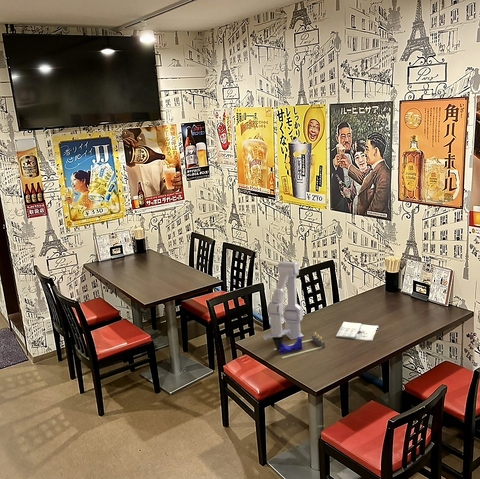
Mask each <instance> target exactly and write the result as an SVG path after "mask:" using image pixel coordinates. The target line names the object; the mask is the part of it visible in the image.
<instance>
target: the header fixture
mask: <svg viewBox="0 0 480 479" xmlns="http://www.w3.org/2000/svg"><path fill="white" fill-rule="evenodd" d="M322 338H323V337H322V336H320V335H319V334H317V332H314V333H313V334H312V335H311V339H306V340H302V344H305V343H310V342H314V343H315V344H317V345H318V347H314V348H311V349H306V350H304V351H300V352H296V353H292V354H288V355H285V356H281V359H282V360H285V359H288V358H291V357H295V356H298V355H302V354H305V353H310V352H313V351H316V350H320V349H324V348H326V346H325V344H326V343H325V341H324V340H323V339H322ZM293 344H294V343H292V344H288V345H287V346H291V345H293ZM273 351H275V352H276V351H278V350H277V349H276V348H274V349H273Z"/></svg>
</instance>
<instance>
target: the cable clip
mask: <svg viewBox="0 0 480 479" xmlns="http://www.w3.org/2000/svg"><path fill="white" fill-rule="evenodd" d="M302 341H303V340H302V337H298V338H296V341H295V342H294V343H292V344H293V345H291V344H290V345H291V346H287V345H286V344H284V343H283V342H282V343H281V347H280V350H278V351H279V353H280V354H289V353H292V352H294V351H300V350H303V343H302ZM288 352H289V353H288Z"/></svg>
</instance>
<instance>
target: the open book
mask: <svg viewBox="0 0 480 479" xmlns="http://www.w3.org/2000/svg"><path fill="white" fill-rule="evenodd" d="M377 328H378V329H379V328H380V327H379V325H369V324H362V323H360V322H359V323H358V322H348V321H343V323H342V324H341V326H340V327H339V330H338V331H337V333H336V335H335V337H336V338H343V339H352V340H361V341H368V342H369V341H371V342H373V341H374V337H375V334H376V332H377V331H378V329H377ZM376 330H377V331H376ZM359 332H360V333H359Z"/></svg>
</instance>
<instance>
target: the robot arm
mask: <svg viewBox="0 0 480 479" xmlns="http://www.w3.org/2000/svg"><path fill="white" fill-rule="evenodd" d="M277 272H278V281H277V287H276V289H274V291H273V294H272V298H271V300H270V303H268V305H267V314H268V317H269V318H270V319H269V320H270V331H271V332H268V333H266V334H264V335H263V340H264V341H267V340H269V339H272V341H273V342H274V345H275V349H277V350H276V351H279V350H280V347H281V343H283V341H284V336H286V337H288V338H289V339H290V340H295V339H296V340H297V339H298V337H301V338H303V337H305V335H304V334H303V333H302V332H301V321H302V320H303V319H304V312H303V308H302V306H301V305H300V304H298V299H297V298H298V296H297V295H298V293H297V292H298V291H297V277H298V276H299V275H300V274H299V273H300V268H299V264H298V262H296V261H281V260H280V261H279V262H278V264H277ZM286 285H287V304H286V305H285V306H284V303H283V302H284V299H285V296H286V292H285V288H286ZM282 316H283V319H284V320H285V322H284V328H285V329H283V321H282Z"/></svg>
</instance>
